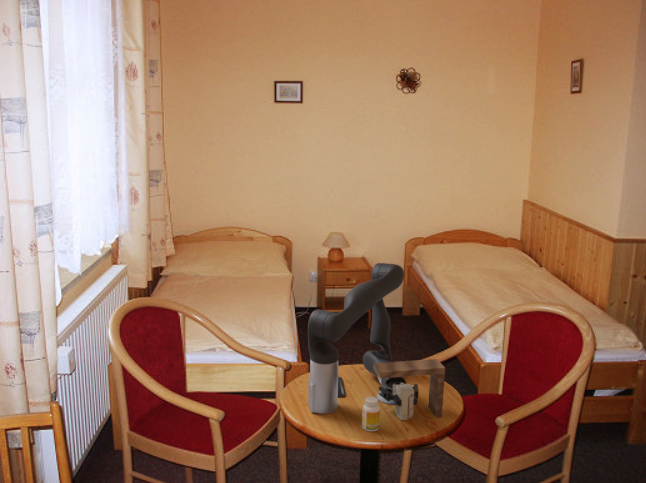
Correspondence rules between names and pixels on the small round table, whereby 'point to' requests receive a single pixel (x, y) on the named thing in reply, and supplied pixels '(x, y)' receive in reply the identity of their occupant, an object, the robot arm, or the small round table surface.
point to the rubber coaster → (385, 400)
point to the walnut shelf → (416, 369)
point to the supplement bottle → (370, 414)
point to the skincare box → (405, 401)
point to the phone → (340, 388)
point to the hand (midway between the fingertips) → (407, 402)
